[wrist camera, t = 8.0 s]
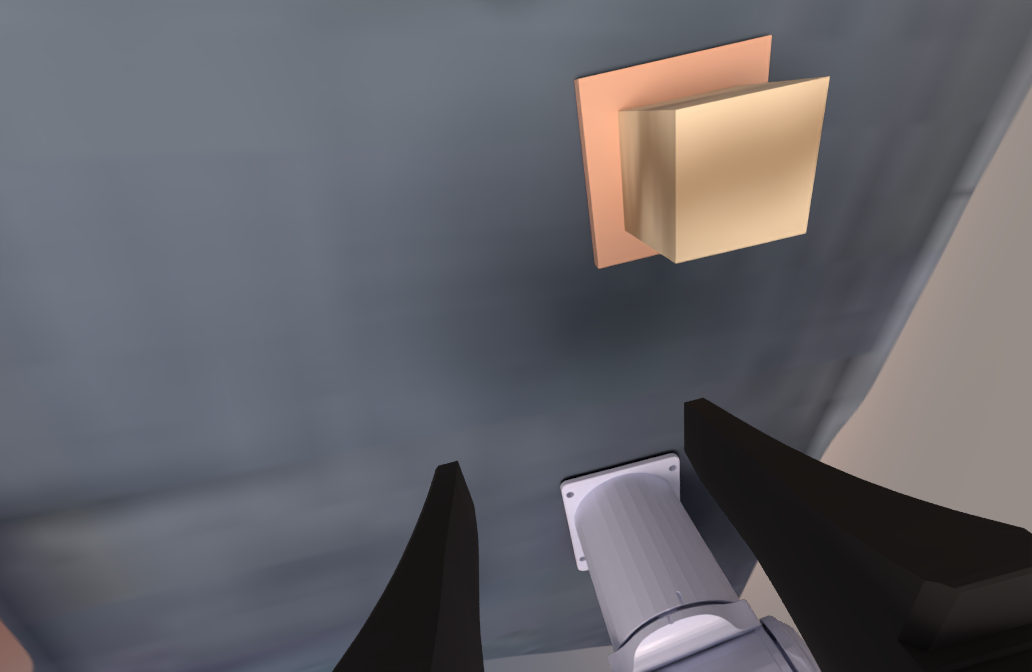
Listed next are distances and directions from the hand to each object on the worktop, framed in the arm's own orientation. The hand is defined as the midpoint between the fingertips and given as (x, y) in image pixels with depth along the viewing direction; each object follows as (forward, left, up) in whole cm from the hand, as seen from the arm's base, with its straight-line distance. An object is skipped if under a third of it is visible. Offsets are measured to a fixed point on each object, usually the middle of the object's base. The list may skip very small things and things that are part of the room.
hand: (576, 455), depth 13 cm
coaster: (+6, -8, -10) cm, 14 cm away
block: (+6, -8, -9) cm, 14 cm away
